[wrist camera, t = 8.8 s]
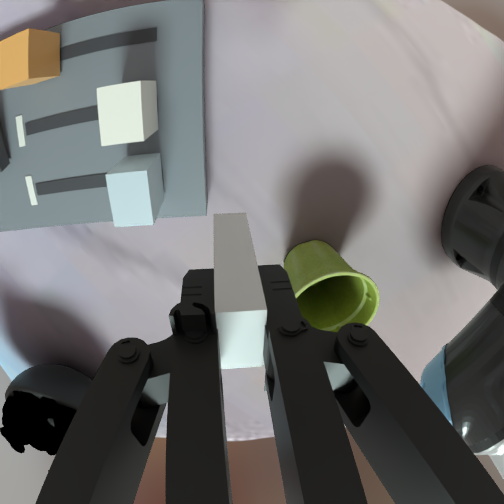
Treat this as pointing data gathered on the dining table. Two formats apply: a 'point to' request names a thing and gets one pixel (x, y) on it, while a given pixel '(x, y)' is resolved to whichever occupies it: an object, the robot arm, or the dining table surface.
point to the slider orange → (29, 58)
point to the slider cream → (127, 112)
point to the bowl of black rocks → (42, 406)
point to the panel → (87, 120)
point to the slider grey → (136, 190)
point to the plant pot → (329, 287)
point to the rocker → (3, 155)
